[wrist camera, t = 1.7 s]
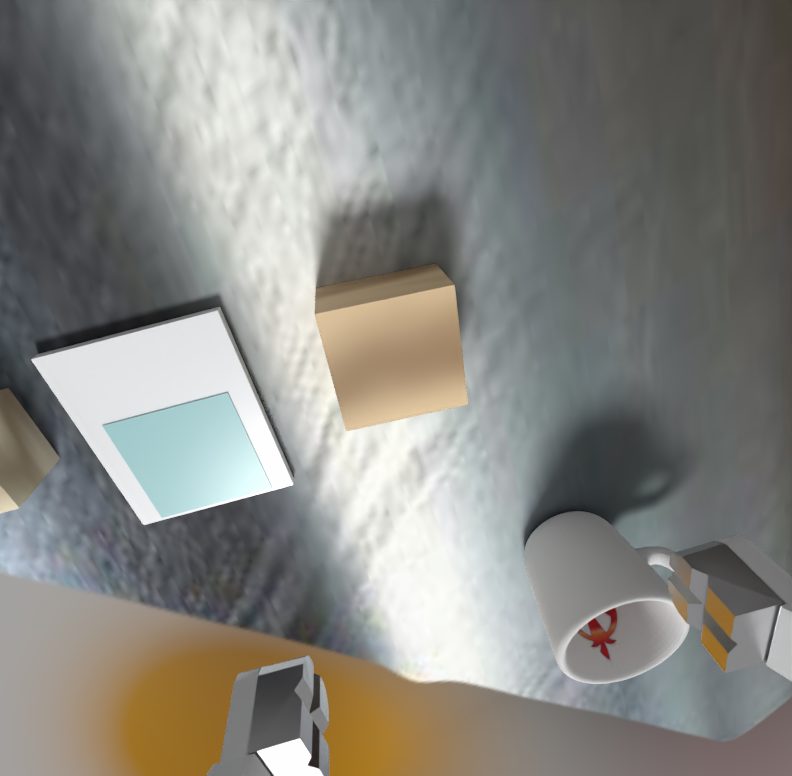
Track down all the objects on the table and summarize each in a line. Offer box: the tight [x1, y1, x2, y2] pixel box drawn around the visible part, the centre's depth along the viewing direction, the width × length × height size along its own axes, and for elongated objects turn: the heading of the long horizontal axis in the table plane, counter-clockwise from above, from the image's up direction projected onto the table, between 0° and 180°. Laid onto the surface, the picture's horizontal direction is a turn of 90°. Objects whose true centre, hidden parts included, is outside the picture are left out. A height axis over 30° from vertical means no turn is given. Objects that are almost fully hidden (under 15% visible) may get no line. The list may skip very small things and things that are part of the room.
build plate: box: [31, 307, 294, 525], centre depth 25 cm, size 11×9×1 cm
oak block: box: [315, 263, 468, 431], centre depth 23 cm, size 6×6×4 cm
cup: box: [524, 511, 690, 684], centre depth 30 cm, size 11×8×8 cm
